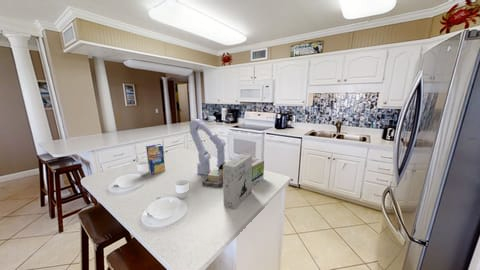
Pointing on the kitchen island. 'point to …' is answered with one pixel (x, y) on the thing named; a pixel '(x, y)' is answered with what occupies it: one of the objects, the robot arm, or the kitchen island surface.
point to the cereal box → (237, 180)
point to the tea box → (257, 170)
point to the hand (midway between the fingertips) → (221, 172)
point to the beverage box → (155, 158)
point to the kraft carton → (215, 175)
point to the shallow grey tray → (206, 183)
